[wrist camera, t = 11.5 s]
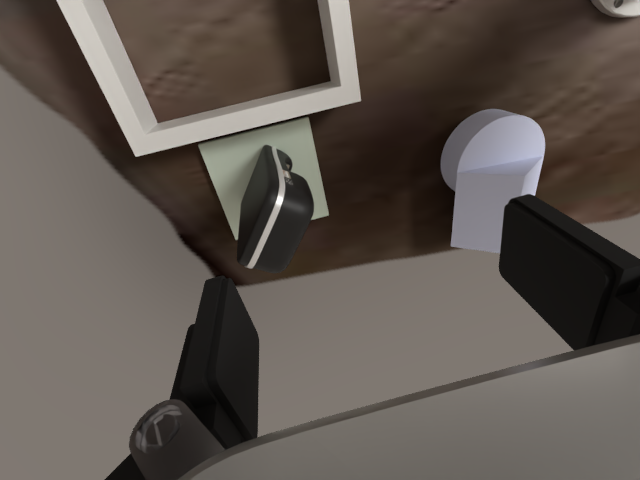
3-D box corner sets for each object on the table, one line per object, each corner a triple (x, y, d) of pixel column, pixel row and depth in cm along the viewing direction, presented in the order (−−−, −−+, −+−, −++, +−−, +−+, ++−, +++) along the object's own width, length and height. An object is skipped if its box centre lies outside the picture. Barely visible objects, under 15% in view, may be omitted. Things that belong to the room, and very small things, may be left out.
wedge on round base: (507, 216, 40) (528, 101, 33) (549, 245, 34) (586, 114, 28) (436, 231, 39) (443, 117, 33) (467, 263, 34) (483, 133, 27)
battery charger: (275, 218, 34) (285, 288, 24) (238, 206, 33) (233, 275, 23) (303, 155, 31) (326, 206, 22) (264, 139, 30) (271, 185, 20)
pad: (307, 116, 30) (308, 117, 30) (328, 212, 36) (329, 215, 35) (198, 143, 30) (198, 145, 29) (235, 237, 35) (235, 240, 35)
